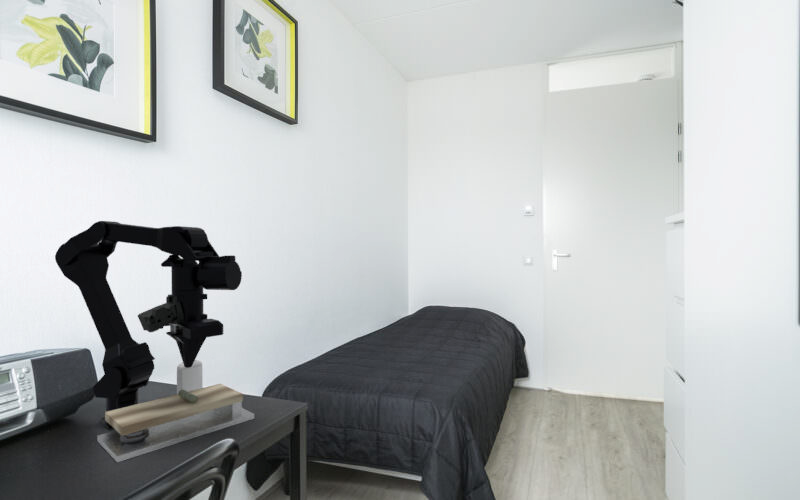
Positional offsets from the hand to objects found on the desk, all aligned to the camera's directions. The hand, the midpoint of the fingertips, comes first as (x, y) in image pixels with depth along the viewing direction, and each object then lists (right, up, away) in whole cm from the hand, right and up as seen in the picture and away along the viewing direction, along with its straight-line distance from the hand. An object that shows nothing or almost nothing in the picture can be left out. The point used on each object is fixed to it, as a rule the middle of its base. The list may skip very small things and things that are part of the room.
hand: (188, 367), depth 87 cm
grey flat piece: (-1, -12, -1) cm, 12 cm away
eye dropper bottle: (-9, -12, +19) cm, 24 cm away
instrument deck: (-1, -8, -1) cm, 8 cm away
